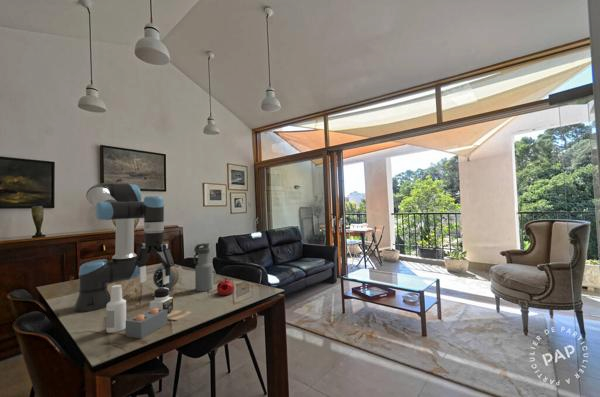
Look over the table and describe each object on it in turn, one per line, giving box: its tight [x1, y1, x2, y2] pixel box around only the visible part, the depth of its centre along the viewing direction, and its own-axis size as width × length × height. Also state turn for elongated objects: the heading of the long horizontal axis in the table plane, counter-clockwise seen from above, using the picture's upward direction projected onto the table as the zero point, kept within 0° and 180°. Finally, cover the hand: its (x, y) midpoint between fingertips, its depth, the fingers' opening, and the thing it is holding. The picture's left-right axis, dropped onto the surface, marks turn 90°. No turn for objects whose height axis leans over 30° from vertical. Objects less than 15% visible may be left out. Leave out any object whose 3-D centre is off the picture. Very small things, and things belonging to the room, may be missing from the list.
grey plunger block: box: [125, 308, 168, 339], centre depth 109 cm, size 8×13×6 cm, turn 163°
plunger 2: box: [149, 308, 158, 314], centre depth 112 cm, size 3×3×6 cm
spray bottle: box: [105, 284, 127, 334], centre depth 110 cm, size 7×7×18 cm
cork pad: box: [167, 309, 192, 322], centre depth 122 cm, size 9×9×1 cm
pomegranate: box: [216, 277, 235, 296], centre depth 153 cm, size 10×10×9 cm
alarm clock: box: [151, 263, 182, 297], centre depth 155 cm, size 14×10×18 cm
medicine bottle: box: [149, 288, 174, 314], centre depth 125 cm, size 7×7×12 cm
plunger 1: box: [135, 314, 144, 321], centre depth 105 cm, size 3×3×6 cm
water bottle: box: [193, 242, 213, 292], centre depth 162 cm, size 10×10×28 cm
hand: (154, 282), depth 112 cm, fingers open, 12 cm apart
